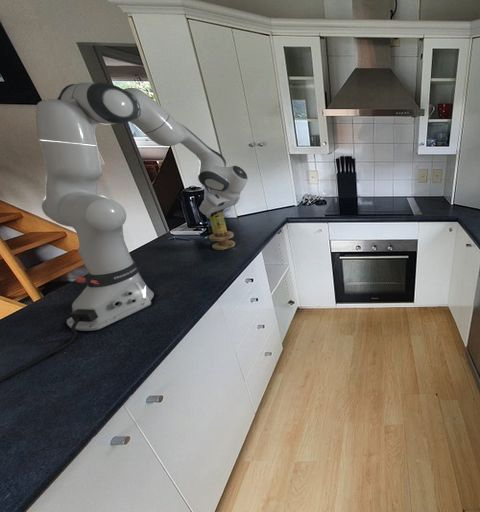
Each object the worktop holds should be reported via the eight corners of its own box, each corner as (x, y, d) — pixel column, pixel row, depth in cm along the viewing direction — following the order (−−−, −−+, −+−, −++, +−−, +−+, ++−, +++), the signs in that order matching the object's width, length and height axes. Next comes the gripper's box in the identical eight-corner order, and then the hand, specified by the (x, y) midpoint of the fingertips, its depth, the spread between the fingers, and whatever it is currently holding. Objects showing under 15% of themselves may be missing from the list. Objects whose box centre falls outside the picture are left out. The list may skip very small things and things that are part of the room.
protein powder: (223, 223, 174) (210, 175, 161) (230, 234, 156) (216, 181, 143) (206, 226, 169) (191, 176, 155) (211, 238, 151) (195, 183, 138)
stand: (224, 251, 136) (221, 239, 133) (206, 248, 139) (203, 237, 136) (240, 242, 146) (237, 232, 143) (223, 240, 148) (220, 230, 145)
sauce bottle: (221, 237, 136) (210, 198, 127) (211, 236, 137) (199, 197, 128) (231, 232, 142) (221, 195, 133) (220, 232, 143) (210, 194, 134)
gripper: (236, 185, 137) (225, 203, 143) (202, 194, 119) (191, 214, 125) (246, 195, 138) (234, 212, 144) (214, 205, 120) (202, 224, 126)
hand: (214, 213), depth 135 cm, fingers closed on sauce bottle, 6 cm apart
